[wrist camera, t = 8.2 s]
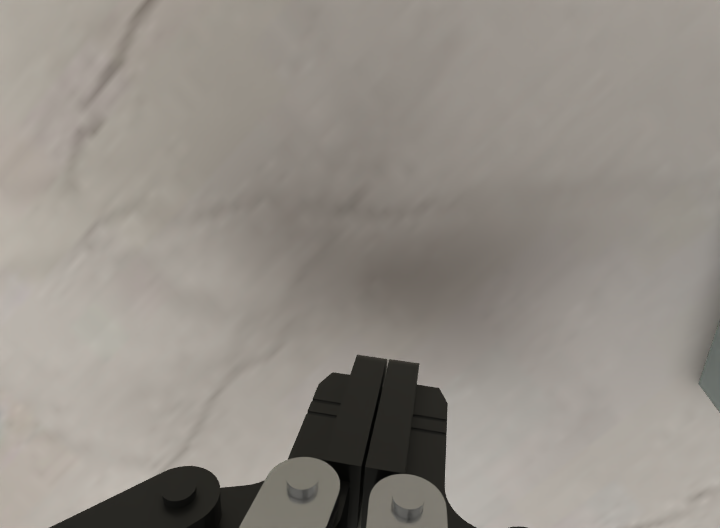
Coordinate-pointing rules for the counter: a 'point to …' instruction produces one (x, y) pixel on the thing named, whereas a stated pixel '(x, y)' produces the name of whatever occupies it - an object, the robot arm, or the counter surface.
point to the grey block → (712, 372)
